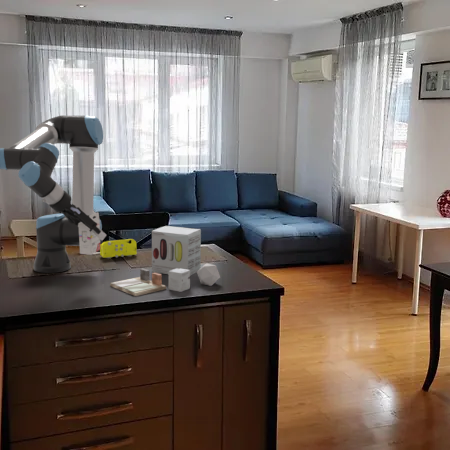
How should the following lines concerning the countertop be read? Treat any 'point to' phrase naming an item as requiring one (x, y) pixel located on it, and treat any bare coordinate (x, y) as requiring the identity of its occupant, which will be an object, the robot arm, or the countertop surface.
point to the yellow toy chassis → (118, 248)
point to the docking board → (141, 284)
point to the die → (208, 274)
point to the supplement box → (176, 249)
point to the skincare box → (179, 279)
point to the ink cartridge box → (89, 237)
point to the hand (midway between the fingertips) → (97, 235)
